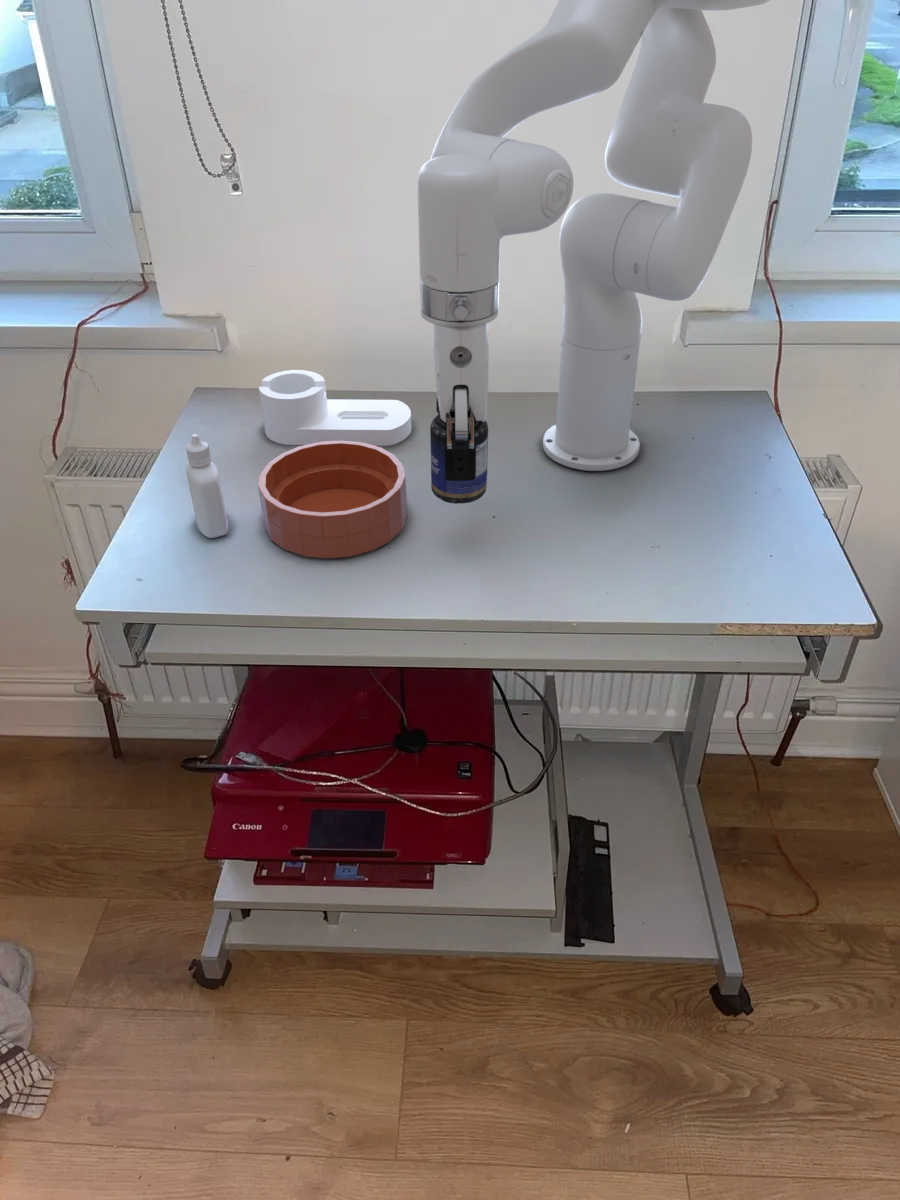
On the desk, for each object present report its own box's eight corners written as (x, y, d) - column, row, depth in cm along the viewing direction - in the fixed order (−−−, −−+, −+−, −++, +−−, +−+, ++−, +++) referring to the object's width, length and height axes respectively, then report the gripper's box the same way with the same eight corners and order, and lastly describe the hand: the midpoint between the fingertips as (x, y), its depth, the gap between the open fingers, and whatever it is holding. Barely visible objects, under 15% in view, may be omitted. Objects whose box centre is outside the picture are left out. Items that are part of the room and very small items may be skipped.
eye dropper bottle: (237, 513, 113) (220, 423, 106) (225, 540, 109) (208, 448, 101) (201, 512, 113) (182, 422, 106) (188, 539, 109) (167, 447, 101)
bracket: (259, 444, 126) (252, 398, 122) (271, 414, 133) (265, 369, 129) (409, 445, 126) (407, 399, 121) (413, 415, 132) (411, 370, 128)
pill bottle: (429, 477, 106) (427, 386, 99) (483, 475, 106) (485, 384, 100) (433, 507, 101) (431, 413, 94) (489, 504, 102) (491, 411, 95)
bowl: (319, 471, 121) (314, 428, 117) (432, 504, 114) (431, 460, 111) (236, 536, 109) (228, 491, 106) (356, 576, 103) (352, 531, 99)
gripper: (504, 333, 84) (499, 505, 95) (493, 267, 97) (489, 424, 108) (419, 334, 84) (424, 506, 95) (420, 268, 97) (424, 425, 108)
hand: (459, 461), depth 102 cm, fingers closed on pill bottle, 6 cm apart
